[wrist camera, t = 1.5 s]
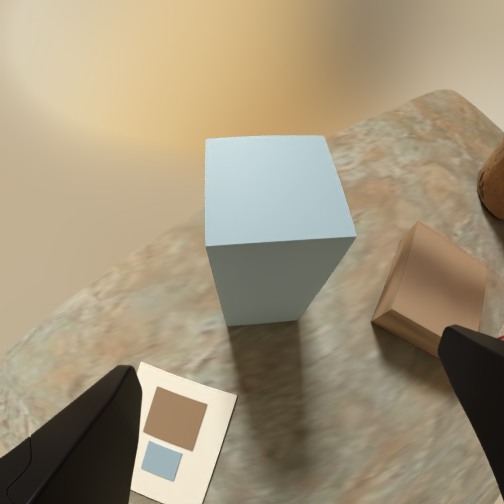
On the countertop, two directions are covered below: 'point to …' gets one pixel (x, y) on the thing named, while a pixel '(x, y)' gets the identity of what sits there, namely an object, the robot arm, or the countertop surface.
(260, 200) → the blue brick
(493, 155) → the block
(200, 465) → the page
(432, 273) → the walnut base
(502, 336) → the stack of blocks
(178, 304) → the countertop surface
